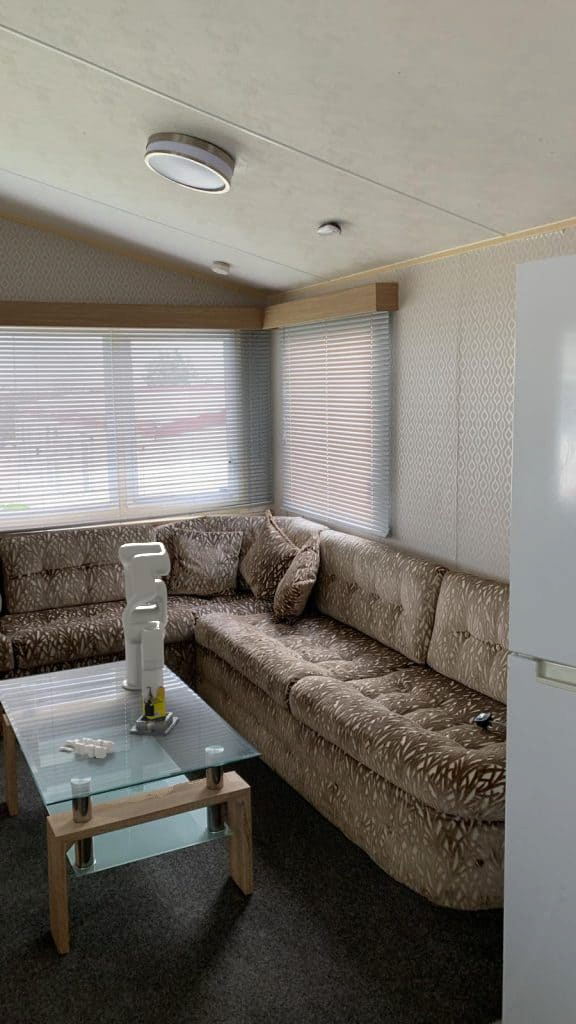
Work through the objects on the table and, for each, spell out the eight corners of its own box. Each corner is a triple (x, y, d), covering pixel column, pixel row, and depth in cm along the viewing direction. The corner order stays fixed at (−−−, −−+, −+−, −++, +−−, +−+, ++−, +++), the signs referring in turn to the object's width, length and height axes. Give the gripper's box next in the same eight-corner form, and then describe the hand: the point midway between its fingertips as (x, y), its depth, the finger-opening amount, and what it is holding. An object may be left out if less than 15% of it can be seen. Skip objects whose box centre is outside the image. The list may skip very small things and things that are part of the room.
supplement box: (166, 717, 294) (165, 687, 293) (150, 721, 291) (149, 691, 289) (158, 712, 299) (157, 682, 298) (142, 716, 296) (141, 686, 294)
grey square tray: (143, 717, 304) (143, 708, 303) (178, 720, 301) (178, 710, 301) (129, 733, 290) (129, 723, 289) (166, 736, 288) (166, 726, 287)
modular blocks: (114, 751, 276) (114, 740, 276) (102, 760, 270) (102, 748, 269) (63, 743, 283) (62, 731, 283) (50, 751, 277) (50, 739, 276)
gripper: (150, 654, 301) (152, 701, 304) (133, 670, 285) (135, 719, 287) (171, 655, 300) (172, 702, 303) (155, 672, 283) (156, 721, 286)
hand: (154, 710), depth 295 cm, fingers open, 9 cm apart
